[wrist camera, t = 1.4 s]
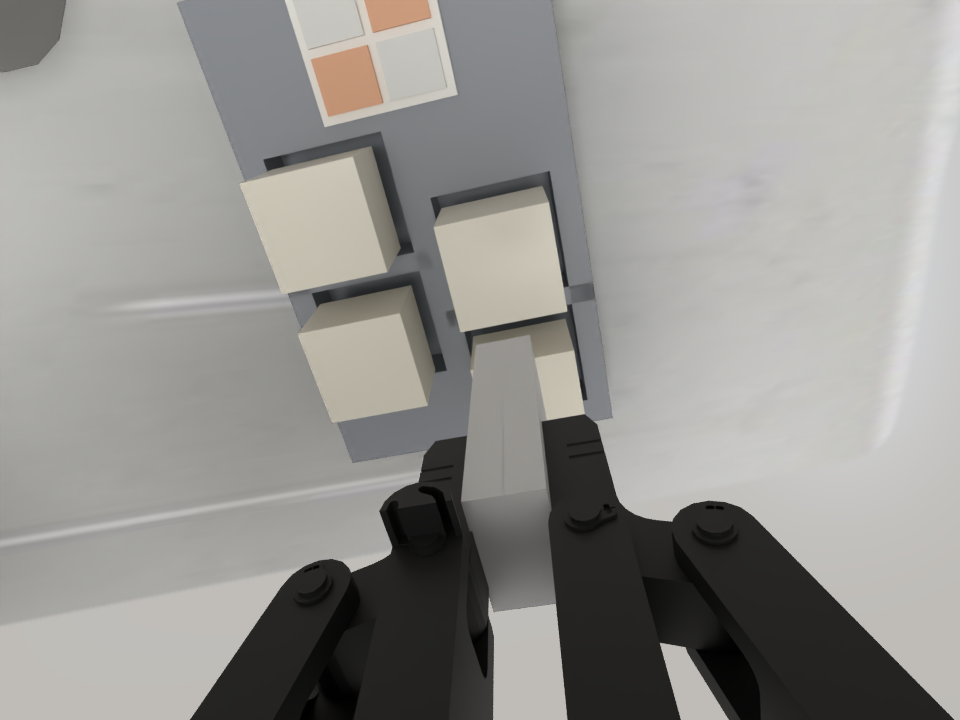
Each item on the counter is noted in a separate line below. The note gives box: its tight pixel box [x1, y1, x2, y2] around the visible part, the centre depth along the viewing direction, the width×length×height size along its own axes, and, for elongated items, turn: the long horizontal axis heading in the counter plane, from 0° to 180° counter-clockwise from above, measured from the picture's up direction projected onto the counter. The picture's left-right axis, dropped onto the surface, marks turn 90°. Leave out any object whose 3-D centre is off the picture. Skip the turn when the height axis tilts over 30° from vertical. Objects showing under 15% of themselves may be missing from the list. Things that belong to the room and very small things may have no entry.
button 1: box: [470, 319, 585, 420], centre depth 31 cm, size 5×5×4 cm
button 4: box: [240, 146, 401, 294], centre depth 27 cm, size 5×5×4 cm
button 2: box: [298, 285, 435, 423], centre depth 30 cm, size 5×5×4 cm
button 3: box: [433, 186, 567, 332], centre depth 28 cm, size 5×5×4 cm
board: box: [177, 0, 613, 463], centre depth 32 cm, size 16×25×5 cm, turn 13°
